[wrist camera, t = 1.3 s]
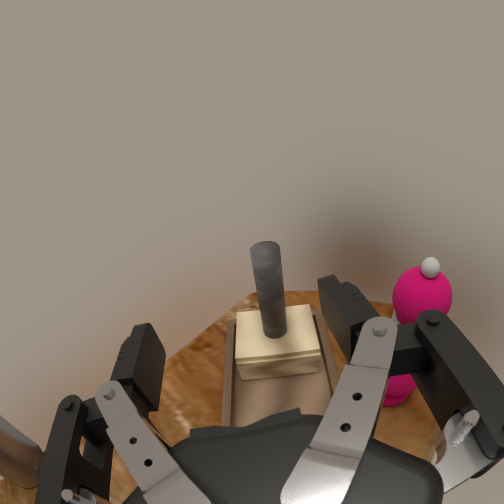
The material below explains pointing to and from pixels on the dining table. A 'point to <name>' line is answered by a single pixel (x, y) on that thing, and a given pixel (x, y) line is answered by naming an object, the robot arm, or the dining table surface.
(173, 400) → the dining table surface
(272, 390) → the bay
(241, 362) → the joystick
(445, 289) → the pepper mill
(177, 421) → the dining table surface
